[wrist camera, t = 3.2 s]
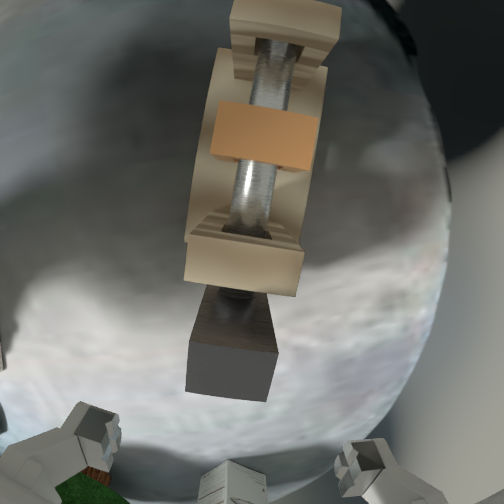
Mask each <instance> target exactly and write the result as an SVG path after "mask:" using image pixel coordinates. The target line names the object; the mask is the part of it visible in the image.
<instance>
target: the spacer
mask: <svg viewBox="0 0 504 504" xmlns="http://www.w3.org/2000/svg"><path fill="white" fill-rule="evenodd" d="M317 125H318V118H316V117H312V116H307V115H303V114H298V113H293V112H288V111H283V110H278V109H273V108H267V107H262V106H256V105H249V104H243V103H236V102H229V101H221V100H219V105H218V110H217V115H216V121H215V126H214V132H213V137H212V143H211V148H210V154H211V155H212V156H214V157H215V158H216V159H217V160H221V161H228V162H235V163H238V160H239V159H241V160H247V161H253V162H259V163H265V164H271V165H276V166H278V168H277V170H282V171H287V172H292V173H295V172H303V171H310V168H311V162H312V156H313V150H314V144H315V137H316V131H317Z"/></svg>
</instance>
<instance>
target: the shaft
mask: <svg viewBox="0 0 504 504" xmlns="http://www.w3.org/2000/svg"><path fill="white" fill-rule="evenodd" d="M297 48H298V45H296V44H291V43H286V42H281V41H276V40H270V39H264V38H261V42H260V47H259V52H258V57H257V62H256V67H255V72H254V77H253V82H252V88H251V93H250V98H249V105H256V106H262V107H267V108H273V109H278V110H283V111H287V109H288V103H289V97H290V91H291V85H292V79H293V73H294V67H295V60H296V54H297ZM277 168H278V166H276V165H271V164H265V163H259V162H253V161H247V160H241V159H239V160H238V166H237V172H236V178H235V184H234V190H233V196H232V202H231V208H230V215H229V221H228V227H227V233H231V234H238V235H244V236H250V237H257V238H263V239H265V237H266V231H267V225H268V220H269V214H270V208H271V203H272V197H273V191H274V186H275V180H276V174H277ZM278 354H279V352H278V348H277V343H276V338H275V333H274V328H273V323H272V318H271V313H270V308H269V304H268V299H267V294H266V293H262V292H255V291H248V290H241V289H234V288H228V287H221V286H215V285H209V284H207V286H206V289H205V292H204V296H203V299H202V302H201V305H200V308H199V311H198V314H197V317H196V321H195V324H194V327H193V330H192V333H191V337H190V340H189V348H188V360H187V373H186V387H185V392H191V393H197V394H203V395H210V396H217V397H224V398H232V399H241V400H250V401H261V402H266V400H267V397H268V393H269V389H270V385H271V382H272V378H273V374H274V370H275V366H276V362H277V358H278Z"/></svg>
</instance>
